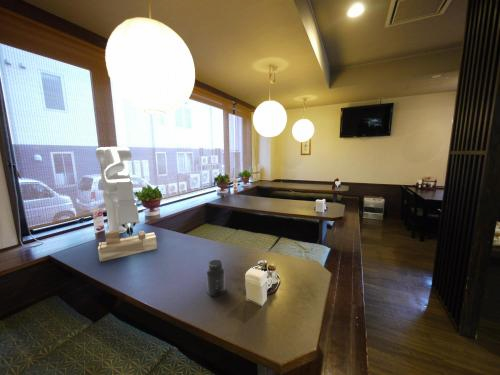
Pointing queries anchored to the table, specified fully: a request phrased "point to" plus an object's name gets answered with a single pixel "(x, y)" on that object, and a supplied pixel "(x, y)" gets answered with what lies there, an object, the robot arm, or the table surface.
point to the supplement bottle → (215, 278)
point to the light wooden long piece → (128, 248)
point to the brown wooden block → (141, 234)
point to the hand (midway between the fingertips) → (130, 234)
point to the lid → (118, 240)
